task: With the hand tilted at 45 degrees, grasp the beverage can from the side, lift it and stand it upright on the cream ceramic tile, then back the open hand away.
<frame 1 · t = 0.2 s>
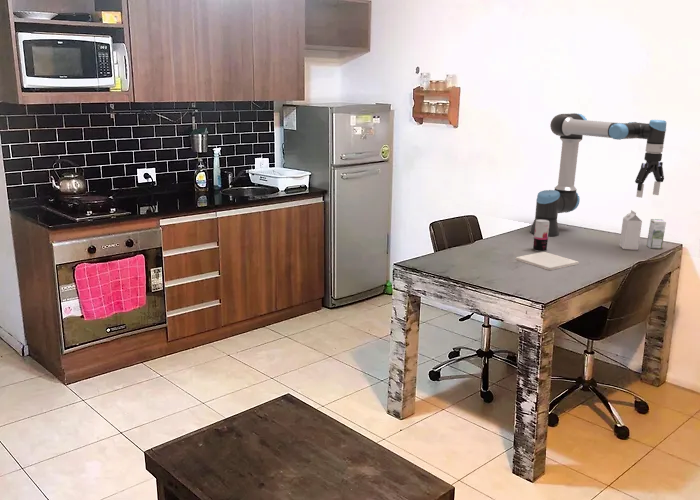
hand: (647, 196, 317), 28 cm above the table, tool pointing down, fingers open, 13 cm apart
beverage can: (539, 250, 321), on the table
ceramic tile: (546, 261, 301), on the table
milk carton: (628, 248, 329), on the table
syrup box: (654, 247, 331), on the table
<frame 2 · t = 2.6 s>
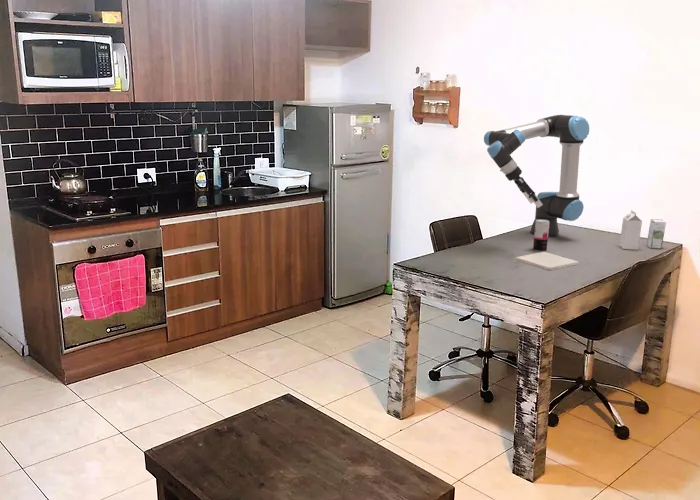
hand: (536, 204, 314), 23 cm above the table, tool tilted 40°, fingers open, 13 cm apart
nothing on the table moved.
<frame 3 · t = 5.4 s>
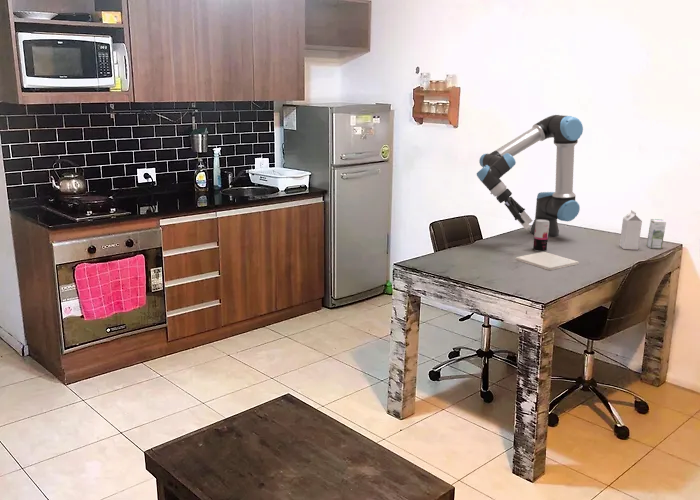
hand: (529, 225, 319), 12 cm above the table, tool tilted 45°, fingers open, 13 cm apart
nothing on the table moved.
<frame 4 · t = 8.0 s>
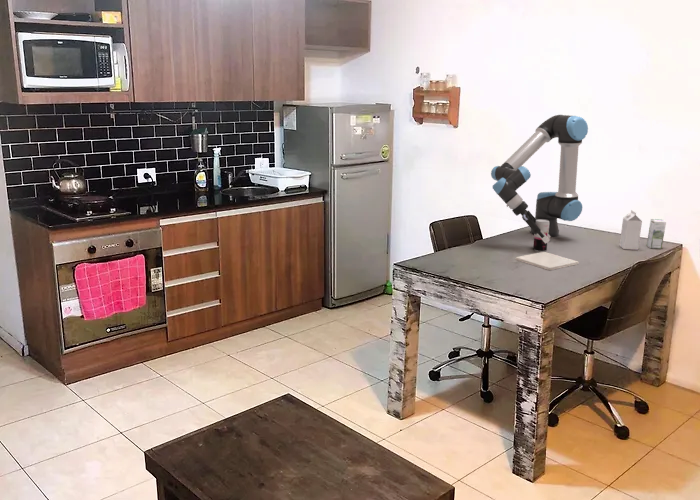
hand: (548, 240, 319), 5 cm above the table, tool tilted 45°, fingers closed on beverage can, 6 cm apart
beverage can: (539, 250, 321), on the table, touching gripper
everything else where it was.
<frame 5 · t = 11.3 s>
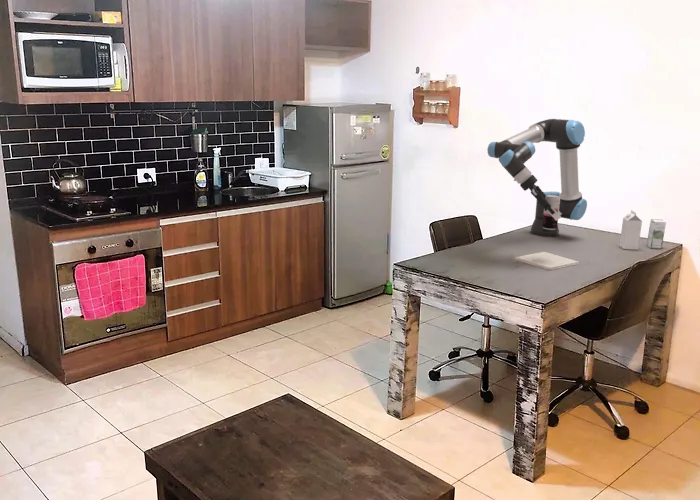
hand: (558, 217, 294), 22 cm above the table, tool tilted 45°, fingers closed on beverage can, 6 cm apart
beverage can: (549, 228, 297), point 16 cm above the table, touching gripper
everything else where it was.
when the fingers open (8 cm above the table, at t = 14.6 s): beverage can drops 1 cm, resting on ceramic tile.
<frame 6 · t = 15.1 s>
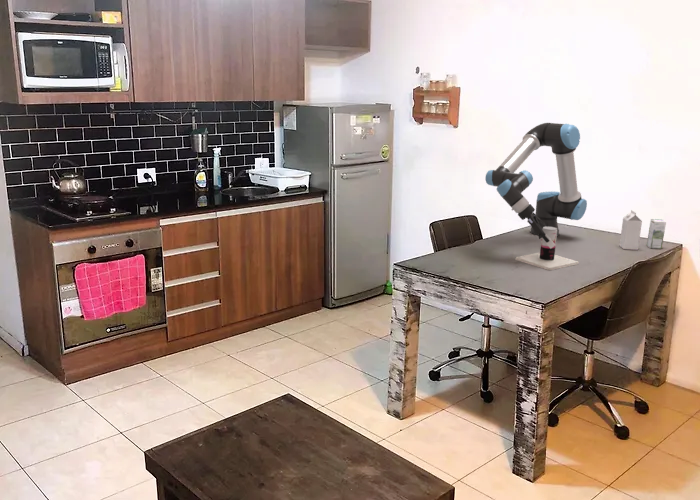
hand: (553, 243, 298), 9 cm above the table, tool tilted 45°, fingers open, 13 cm apart
beverage can: (546, 259, 301), point 1 cm above the table, touching ceramic tile
everything else where it was.
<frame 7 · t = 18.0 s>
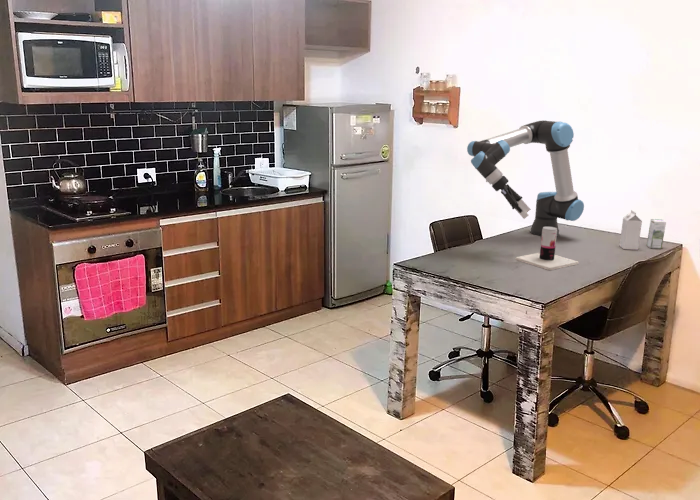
hand: (527, 214, 302), 21 cm above the table, tool tilted 45°, fingers open, 13 cm apart
nothing on the table moved.
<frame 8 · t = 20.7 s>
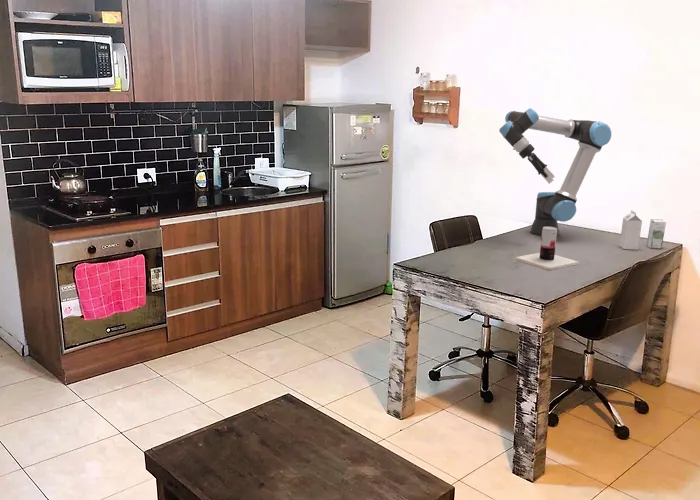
hand: (552, 180, 322), 34 cm above the table, tool tilted 45°, fingers open, 13 cm apart
nothing on the table moved.
at the end: beverage can inside the target area on the ceramic tile (0.1 cm from its centre), point 1.0 cm above the ceramic tile's base; beverage can tilted 0°; the gripper is holding nothing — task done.
